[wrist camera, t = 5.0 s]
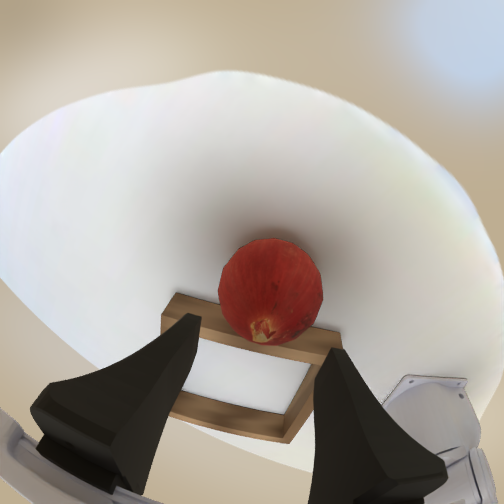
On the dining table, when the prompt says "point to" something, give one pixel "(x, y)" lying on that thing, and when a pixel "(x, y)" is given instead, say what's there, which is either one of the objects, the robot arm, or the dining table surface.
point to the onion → (270, 292)
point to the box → (218, 330)
